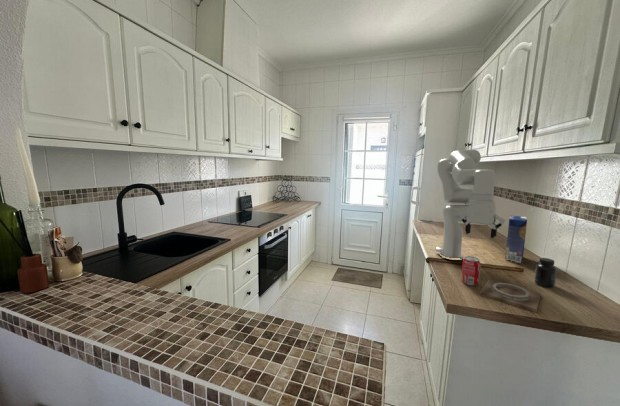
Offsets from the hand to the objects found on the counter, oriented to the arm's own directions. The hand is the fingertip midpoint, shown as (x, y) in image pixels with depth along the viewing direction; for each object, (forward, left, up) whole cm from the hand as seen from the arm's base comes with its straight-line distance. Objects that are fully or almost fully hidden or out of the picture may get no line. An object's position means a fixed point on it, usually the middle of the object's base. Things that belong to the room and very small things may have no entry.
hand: (480, 235), depth 112 cm
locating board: (+13, -2, -23) cm, 27 cm away
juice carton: (+7, +49, -24) cm, 55 cm away
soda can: (-2, -1, -24) cm, 24 cm away
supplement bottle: (+22, +20, -24) cm, 38 cm away
